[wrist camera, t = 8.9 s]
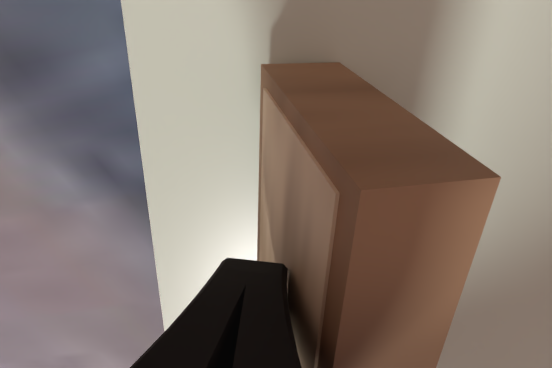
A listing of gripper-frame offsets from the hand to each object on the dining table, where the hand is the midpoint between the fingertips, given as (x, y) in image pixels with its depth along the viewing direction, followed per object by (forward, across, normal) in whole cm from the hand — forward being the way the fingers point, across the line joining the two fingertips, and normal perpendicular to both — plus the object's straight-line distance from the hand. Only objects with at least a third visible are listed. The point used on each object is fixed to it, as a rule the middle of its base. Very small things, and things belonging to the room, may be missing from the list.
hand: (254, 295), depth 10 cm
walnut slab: (+4, 0, 0) cm, 4 cm away
